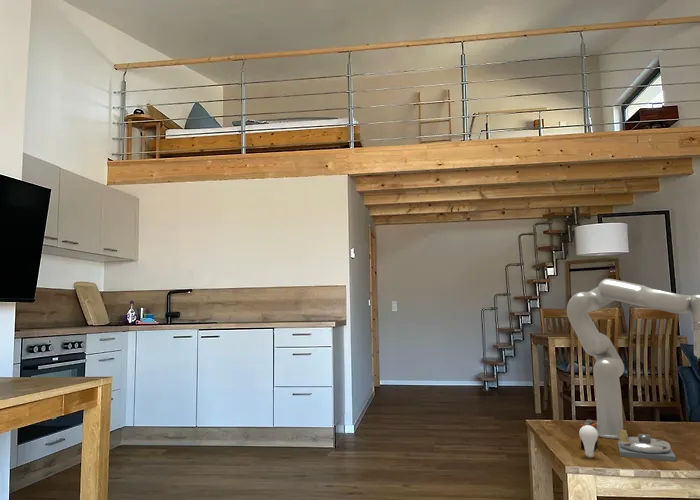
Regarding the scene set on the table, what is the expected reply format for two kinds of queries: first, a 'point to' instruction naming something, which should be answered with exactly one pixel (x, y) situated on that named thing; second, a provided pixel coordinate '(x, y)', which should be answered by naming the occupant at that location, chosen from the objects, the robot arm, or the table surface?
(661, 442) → the round tabbed tray
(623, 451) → the base plate
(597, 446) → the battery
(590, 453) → the lightbulb
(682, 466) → the table surface
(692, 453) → the table surface
